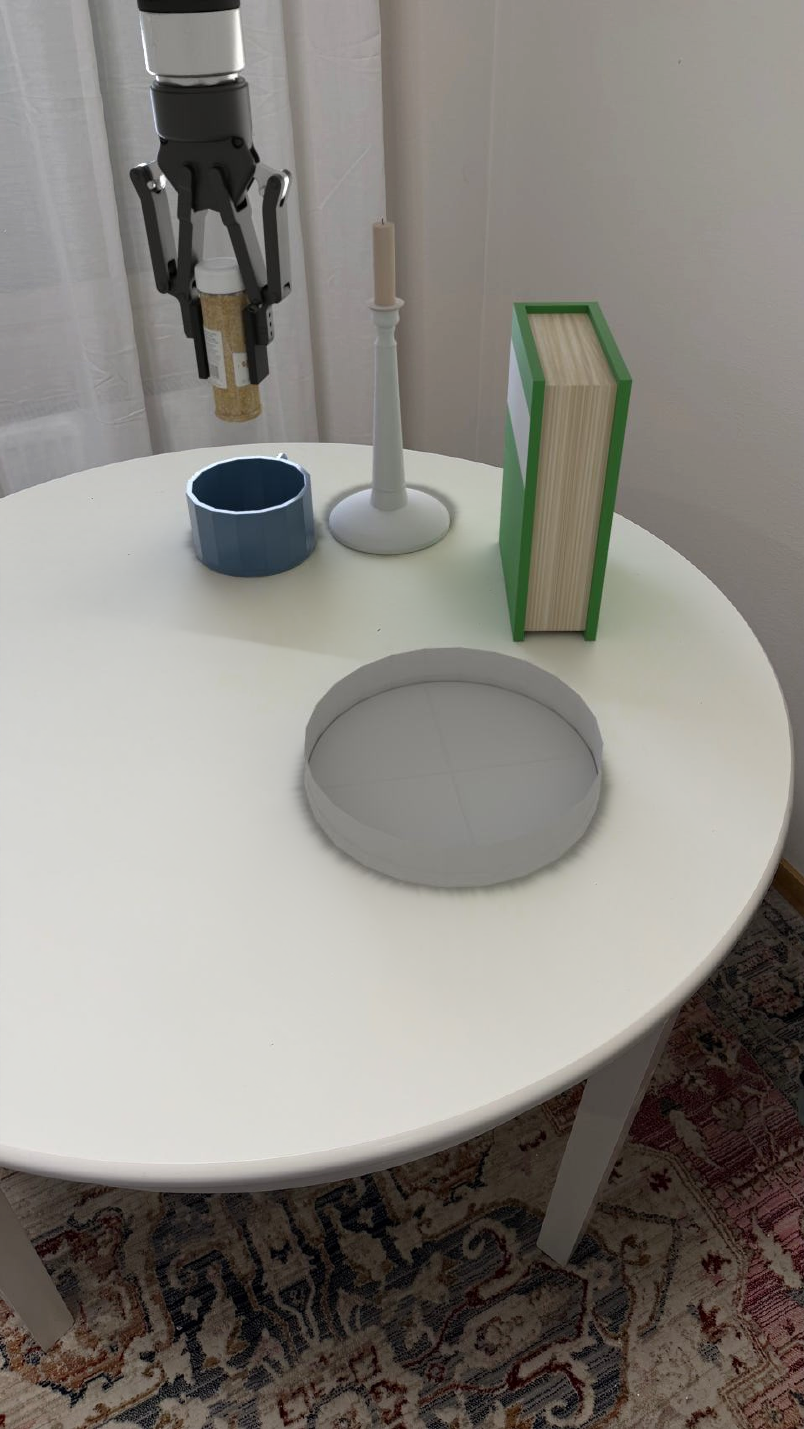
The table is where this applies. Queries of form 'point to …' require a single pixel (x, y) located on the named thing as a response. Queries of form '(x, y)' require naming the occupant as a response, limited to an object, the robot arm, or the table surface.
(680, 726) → the table surface
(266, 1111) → the table surface
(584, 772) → the dish
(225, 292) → the sprinkles bottle
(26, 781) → the table surface
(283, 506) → the blue pot
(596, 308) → the hardback book
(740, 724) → the table surface
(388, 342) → the candlestick
